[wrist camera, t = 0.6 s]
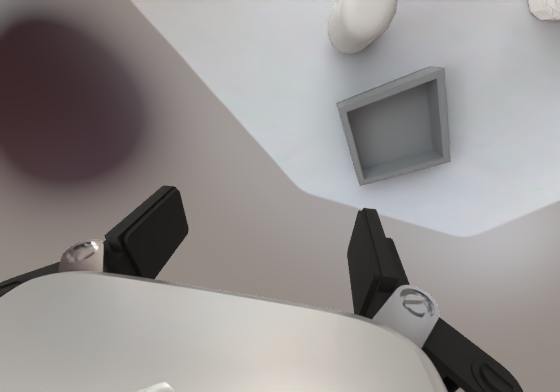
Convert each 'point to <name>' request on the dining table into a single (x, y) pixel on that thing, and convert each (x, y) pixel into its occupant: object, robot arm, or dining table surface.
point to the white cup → (545, 9)
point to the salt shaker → (359, 23)
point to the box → (398, 126)
